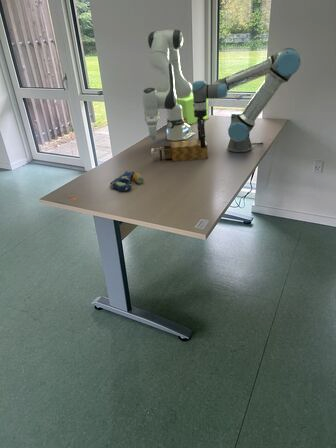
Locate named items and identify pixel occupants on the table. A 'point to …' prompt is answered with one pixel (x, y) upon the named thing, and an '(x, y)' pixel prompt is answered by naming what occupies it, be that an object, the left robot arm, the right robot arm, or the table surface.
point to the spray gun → (126, 180)
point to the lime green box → (189, 109)
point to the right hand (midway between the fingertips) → (201, 144)
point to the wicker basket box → (188, 150)
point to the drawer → (166, 151)
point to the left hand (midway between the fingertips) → (154, 140)
